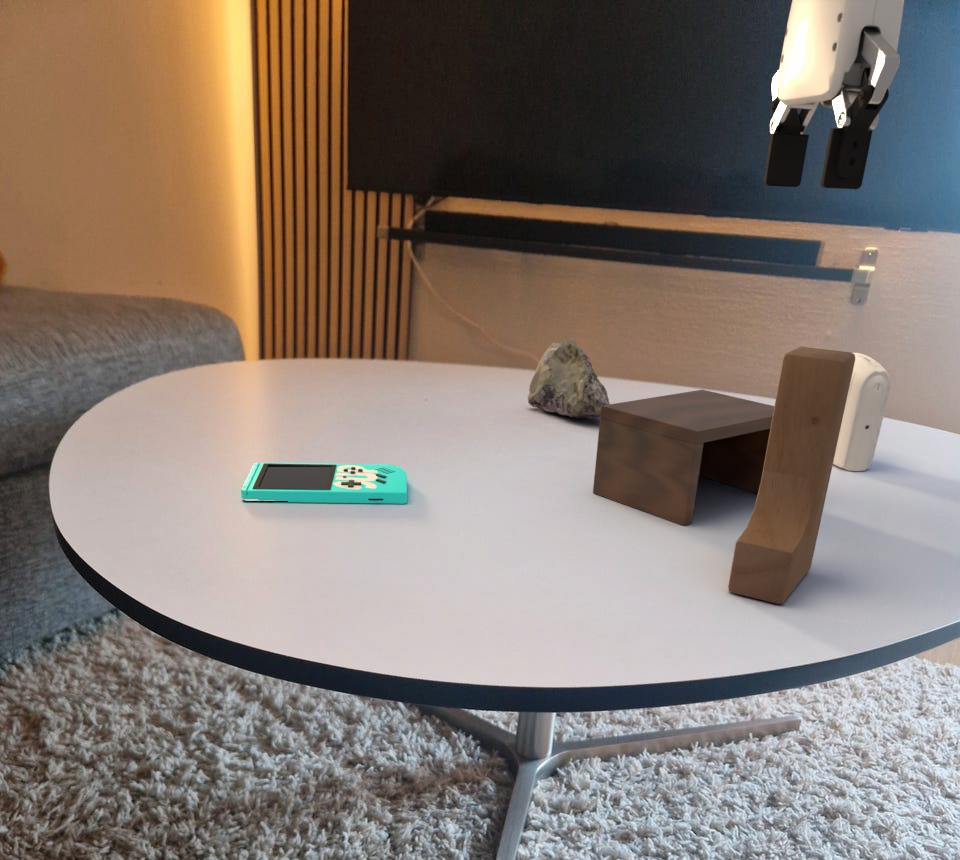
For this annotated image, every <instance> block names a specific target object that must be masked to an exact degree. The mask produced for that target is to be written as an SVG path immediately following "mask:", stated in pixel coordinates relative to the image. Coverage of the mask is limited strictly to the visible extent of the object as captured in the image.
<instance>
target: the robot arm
mask: <svg viewBox="0 0 960 860" xmlns="http://www.w3.org/2000/svg"><path fill="white" fill-rule="evenodd" d="M904 5H905V0H792V1H791V5H790V8H789V9H790V10H789V13H788V19H787V25H786V29H785V34H784V40H783V45H782V50H781V57H780V62H779V69H778V70H777V72H776V73H775V74H774V75H773V77H772V80H771V96H772V102H771V103H770V104H771V106H769V108H770V109H769V110H770V113H771V117H772V118H771V119H770V123H769V132H770V139H769V145H768V152H767V157H766V164H765V171H764V175H763V176H764V177H763V184H764V185H765V186H766V187H784V188H785V187H786V188H798V187H799V186H800V185H801V182H802V177H803V172H804V166H805V161H806V154H807V148H808V144H809V143H808V142H809V136H810V135H809V134H806V133H805V132H806V129H807V128H808V125H809V124H810V122H811V119H812V117H813V116H814V114H815V112H816V110H817V108H818V106H819V105H820V104H821V106H823V107H824V108H826V109H833V112H834V117H835V122H836V126H837V127H836V128H835V127H832V128H829V133H828V135H829V136H828V138H827V145H826V150H825V155H824V162H823V166H822V172H821V177H820V186H821V187H822V188H823V189H841V190H842V189H843V190H859V189H860V188H861V187H862V185H863V181H864V177H865V171H866V166H867V161H868V156H869V151H870V146H871V140H872V136H873V131H874V130H875V129H876V128H877V126H878V124H879V121H880V111H881V110H882V108H883V107H884V105H885V104H886V102H887V100H888V99H889V96H890V93H889V92H890V88H891V85H892V84H893V81H894V79H895V77H896V74H897V72H898V70H899V67H900V65H901V55H900V54H899V53H898V47H899V39H900V35H901V27H902V22H903V21H902V20H903V13H904V7H905V6H904ZM798 110H800V111H799V112H798Z"/></svg>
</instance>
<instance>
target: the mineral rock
mask: <svg viewBox="0 0 960 860" xmlns="http://www.w3.org/2000/svg"><path fill="white" fill-rule="evenodd" d="M528 389H529V390H528V391H529V392H528V395H527V403H528V405H530V406H531V407H532V408H537V409H540V410H544V411H545V412H547V413H557V414H558V415H561V416H567V417H570V418H575V419H581V418H582V419H583V418H588V419H590V420H591V419H596V418H600V415H601V406H603V405H609V404H611V403H610V399H609V396H608V391H607V389H606V387H605V386H604V384H603V383H602V382H601V381H600V380H599V378H598V375H597V373H595V370H594V368H593V365H592V361H591V359H590V357H589V356H588V355H587V353H586V352H585V351H584V349H582V348H581V347H579V346H578V345H577V343H576V340H574V339H573V338H571V339H564V340H562V341H561V343H559V342H556V341H555V342H552V343H551V344H550V345H549V346H548V348H547V349H546V350H545V352H544V353H543V355H542V356H541V358H540V360H539V362H538V364H537V366H536V368H535V372H534V375H533V377H532V378H531V380H530V384H529V387H528Z"/></svg>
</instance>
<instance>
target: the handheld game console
mask: <svg viewBox="0 0 960 860" xmlns="http://www.w3.org/2000/svg"><path fill="white" fill-rule="evenodd" d="M240 492H241V499H242V498H243V499H258V500H274V501H275V500H276V501H288V502H287V503H309V504H310V503H311V504H312V503H315V504H316V503H317V504H319V503H321V504H322V503H323V504H330V503H331V504H391V505H393V504H394V505H395V504H396V505H397V504H398V505H399V504H401V505H405V504H407V502H408V476H407V472H406V471H405V470H404V469H403V468H402V467H400V466H398V465H393V464H385V463H380V464H379V463H327V462H326V463H322V462H321V463H320V462H318V463H317V462H266V461H265V462H259V461H258V462H254V463H253V465H252V467H251V468H250V471H249V473H248V475H247V477H246V479H245V480H244V483H243V484H242V487H241V489H240Z"/></svg>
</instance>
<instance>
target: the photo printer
mask: <svg viewBox="0 0 960 860" xmlns="http://www.w3.org/2000/svg"><path fill="white" fill-rule="evenodd" d="M852 353H853V354H855V363H854V368H853V372H852V377H851V382H850V386H849V391H848V396H847V400H846V405H845V410H844V414H843V419H842V424H841V428H840V433H839V438H838V442H837V447H836V452H835V456H834V461H833V465H835V466H837V467H839V468H841V469H843V470H845V471H848V472H864V471H867V470H868V469H870V468H871V466H872V463H873V460H874V457H875V452H876V449H877V445H878V440H879V436H880V432H881V428H882V425H883V424H882V423H883V420H884V416H885V412H886V407H887V403H888V399H889V395H890V391H891V384H892V383H891V376H890V375H889V373H888V371H887V370H886V369H885V368H884V366H882V364H880V362H878V361H877V360H875V359H874V358H873V357H870V356H868V355H866V354H864V353H860V352H852Z"/></svg>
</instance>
